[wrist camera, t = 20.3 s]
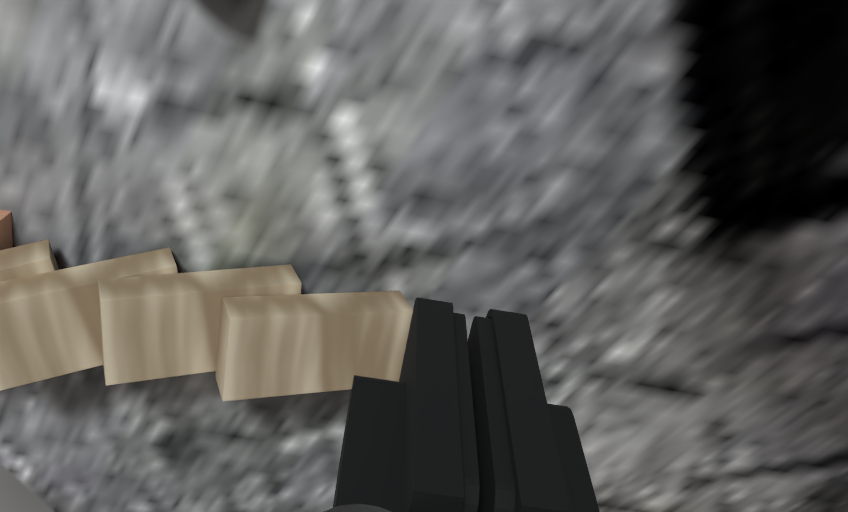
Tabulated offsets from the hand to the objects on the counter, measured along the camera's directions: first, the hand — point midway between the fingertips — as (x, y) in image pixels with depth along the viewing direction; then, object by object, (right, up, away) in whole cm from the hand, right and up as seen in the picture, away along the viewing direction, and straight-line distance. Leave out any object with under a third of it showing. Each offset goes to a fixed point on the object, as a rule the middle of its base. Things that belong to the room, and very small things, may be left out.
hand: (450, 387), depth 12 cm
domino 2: (-8, -1, +31) cm, 32 cm away
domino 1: (-2, -3, +32) cm, 32 cm away
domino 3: (-14, 0, +31) cm, 34 cm away
